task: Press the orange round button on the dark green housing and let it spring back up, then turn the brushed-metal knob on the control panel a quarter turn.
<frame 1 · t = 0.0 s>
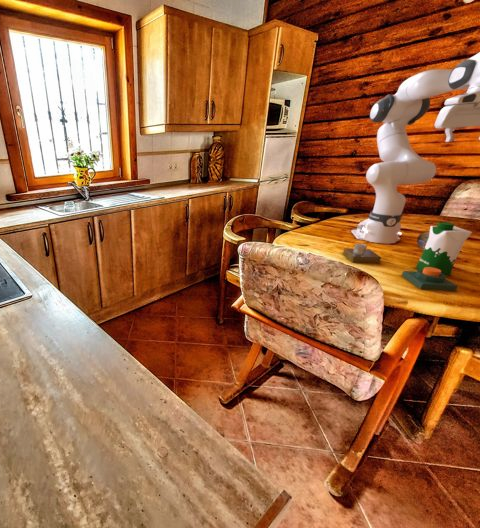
hand: (465, 141, 99), 48 cm above the table, tool pointing down, fingers open, 8 cm apart
panel: (360, 258, 125), on the table
housing: (426, 283, 103), on the table
button: (431, 271, 101), point 5 cm above the table, slide at 0.1 cm
milk carton: (432, 272, 111), on the table
tin: (433, 251, 129), on the table
knob: (359, 249, 122), point 5 cm above the table, hinge at 0.0°
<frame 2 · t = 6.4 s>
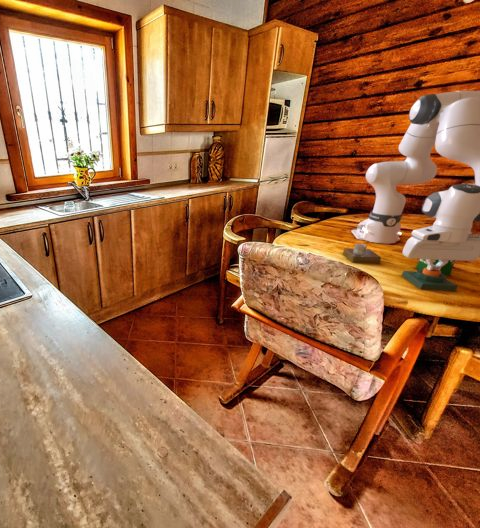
hand: (432, 270, 101), 5 cm above the table, tool pointing down, fingers closed, pressing on button
button: (431, 272, 101), point 4 cm above the table, slide at -0.2 cm, touching gripper
everything else where it was.
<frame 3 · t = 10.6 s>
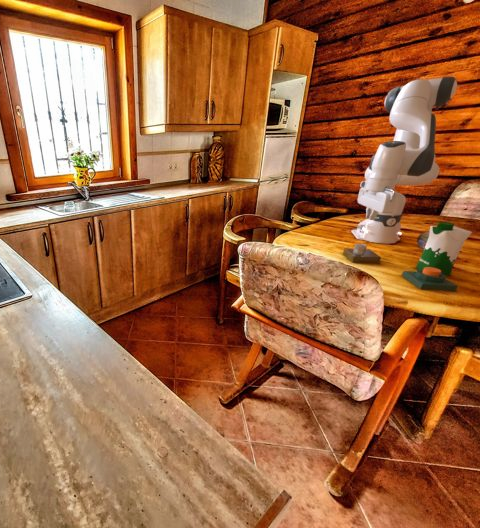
hand: (369, 218, 117), 19 cm above the table, tool pointing down, fingers closed
button: (431, 271, 101), point 5 cm above the table, slide at 0.1 cm
everything else where it was.
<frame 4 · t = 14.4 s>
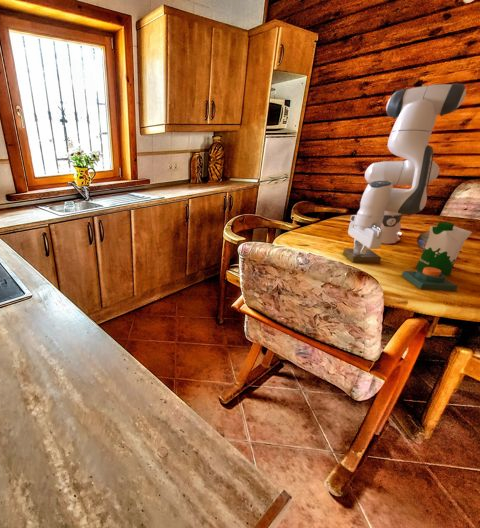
hand: (359, 251, 123), 4 cm above the table, tool pointing down, fingers closed on knob, 4 cm apart
knob: (359, 249, 122), point 5 cm above the table, hinge at -0.2°, touching gripper
everything else where it was.
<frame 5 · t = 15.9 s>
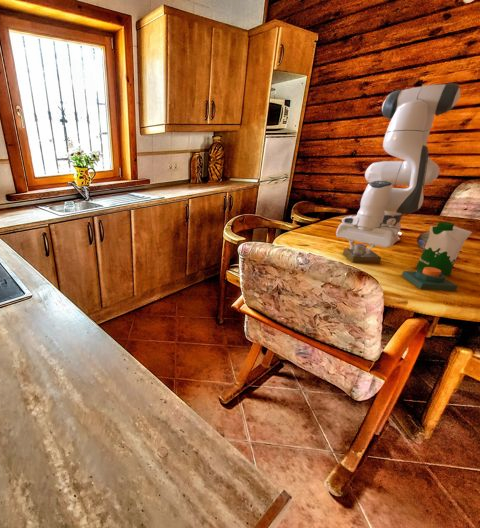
hand: (359, 251, 123), 4 cm above the table, tool pointing down, fingers closed on knob, 4 cm apart
knob: (359, 249, 122), point 5 cm above the table, hinge at 39.3°, touching gripper
everything else where it was.
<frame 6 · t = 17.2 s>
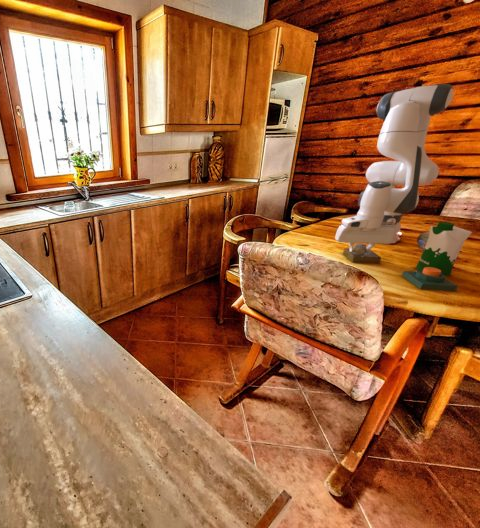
hand: (358, 251, 123), 4 cm above the table, tool pointing down, fingers closed on knob, 4 cm apart
knob: (359, 249, 122), point 5 cm above the table, hinge at 87.3°, touching gripper
everything else where it was.
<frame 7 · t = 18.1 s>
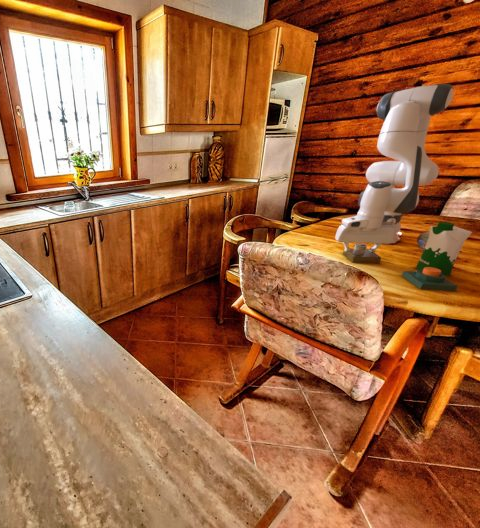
hand: (359, 251, 123), 4 cm above the table, tool pointing down, fingers open, 8 cm apart
knob: (359, 249, 122), point 5 cm above the table, hinge at 87.5°
everything else where it was.
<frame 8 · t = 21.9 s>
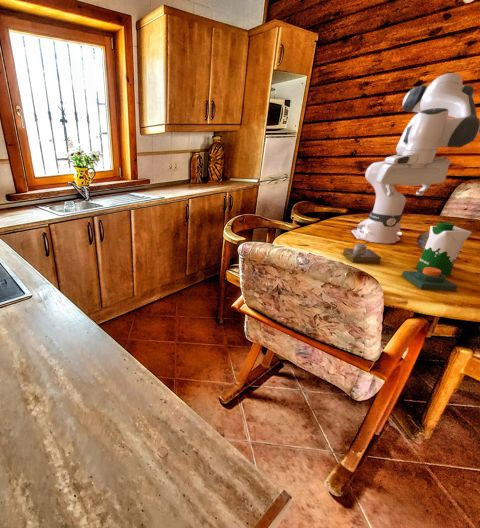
hand: (404, 195, 109), 29 cm above the table, tool pointing down, fingers open, 8 cm apart
nothing on the table moved.
at the end: button pushed in 1.3 cm at the most during the clip, back to where it started at the end; button slide at 0.1 cm; knob at +88° (first picture: +0°) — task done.
